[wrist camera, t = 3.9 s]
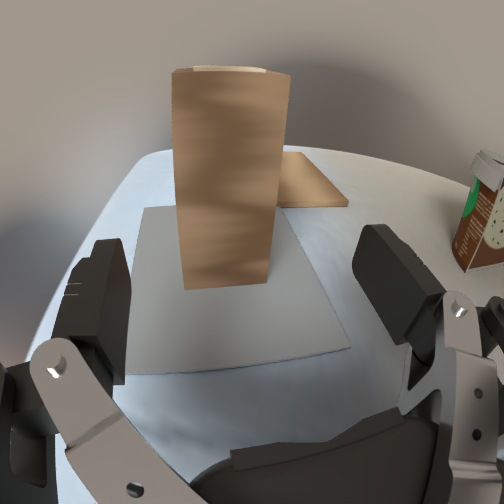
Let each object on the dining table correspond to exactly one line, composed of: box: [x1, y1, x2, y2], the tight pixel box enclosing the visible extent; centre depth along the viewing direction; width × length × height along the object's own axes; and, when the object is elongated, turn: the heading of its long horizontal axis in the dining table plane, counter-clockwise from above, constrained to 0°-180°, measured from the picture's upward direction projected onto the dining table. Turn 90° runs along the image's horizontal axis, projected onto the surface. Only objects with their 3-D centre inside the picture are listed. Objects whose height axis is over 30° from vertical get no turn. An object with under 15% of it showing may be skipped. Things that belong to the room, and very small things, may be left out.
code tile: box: [125, 205, 352, 375], centre depth 20 cm, size 12×16×1 cm
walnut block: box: [172, 66, 291, 290], centre depth 16 cm, size 5×5×12 cm
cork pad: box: [276, 152, 349, 208], centre depth 32 cm, size 12×14×1 cm
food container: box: [452, 148, 504, 273], centre depth 21 cm, size 12×6×10 cm, turn 101°
